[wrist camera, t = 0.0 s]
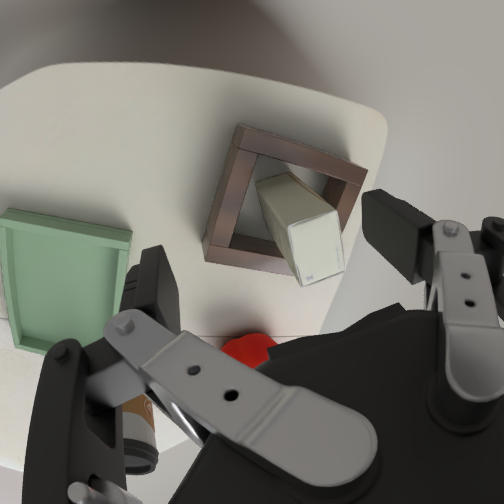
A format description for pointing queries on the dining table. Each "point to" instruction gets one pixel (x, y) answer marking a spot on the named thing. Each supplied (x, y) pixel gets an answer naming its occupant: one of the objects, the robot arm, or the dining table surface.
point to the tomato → (249, 349)
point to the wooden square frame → (235, 185)
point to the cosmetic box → (302, 228)
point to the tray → (60, 278)
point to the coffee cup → (139, 436)
